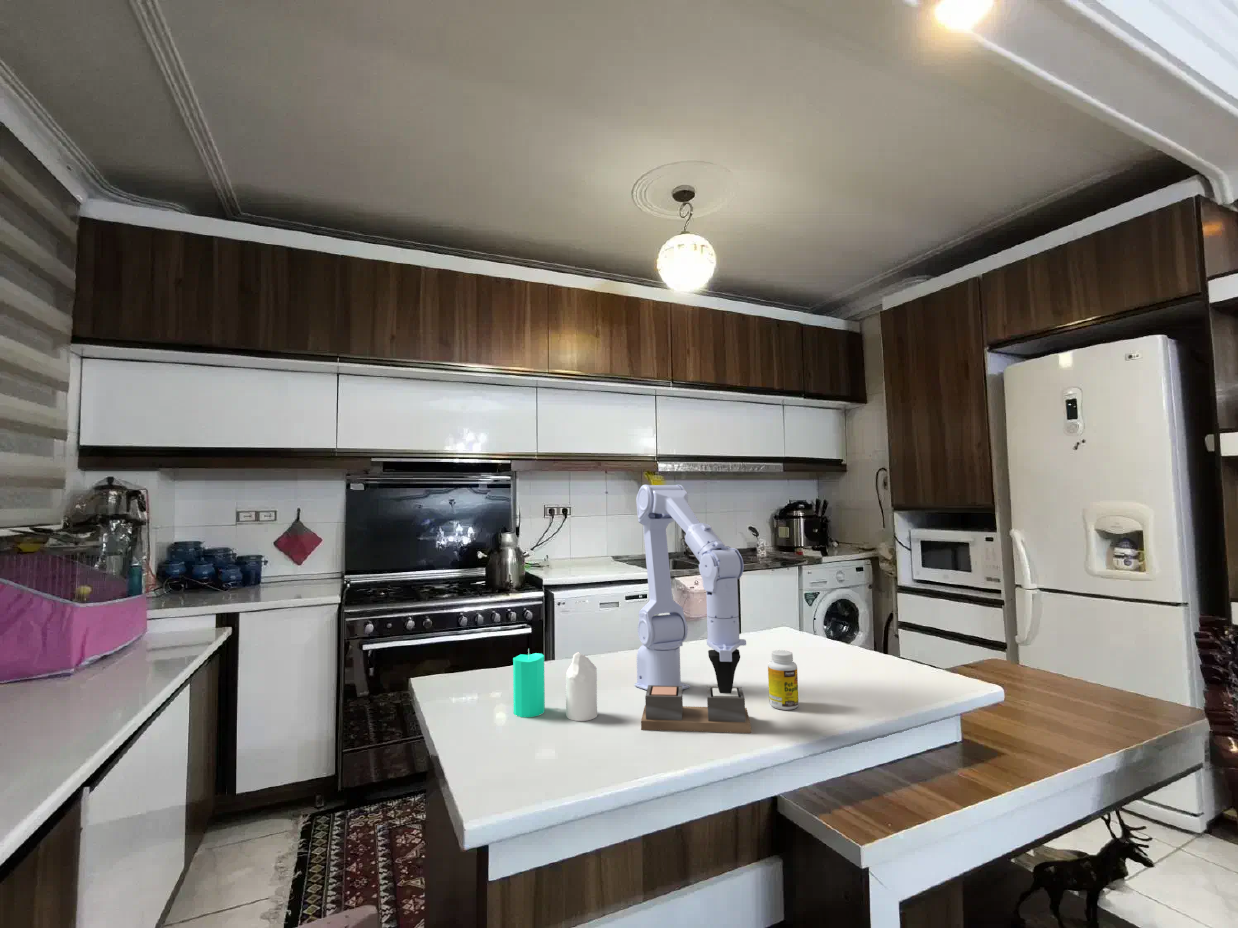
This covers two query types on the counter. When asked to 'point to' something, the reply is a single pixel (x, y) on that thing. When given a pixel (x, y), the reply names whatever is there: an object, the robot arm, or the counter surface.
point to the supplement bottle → (783, 681)
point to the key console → (695, 713)
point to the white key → (718, 694)
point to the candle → (528, 685)
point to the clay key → (664, 691)
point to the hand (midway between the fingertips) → (725, 692)
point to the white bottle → (581, 689)
